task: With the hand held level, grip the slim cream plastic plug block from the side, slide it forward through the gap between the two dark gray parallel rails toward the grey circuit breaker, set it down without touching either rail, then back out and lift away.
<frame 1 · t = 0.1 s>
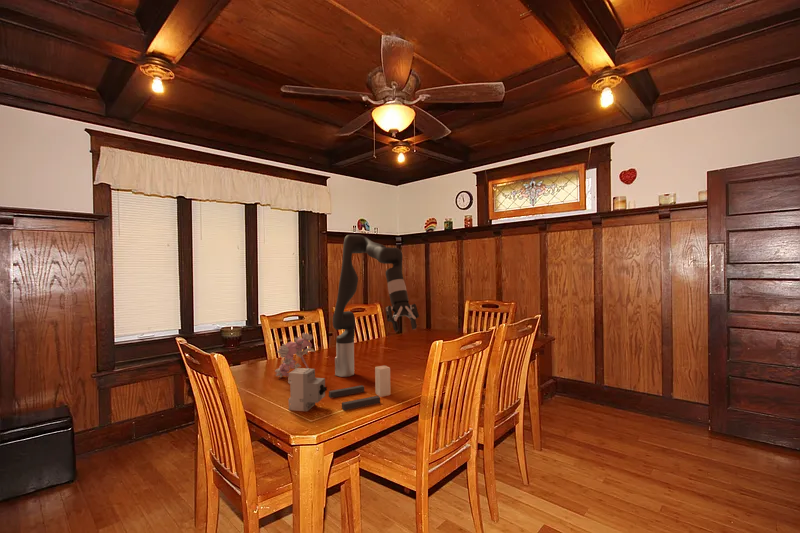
hand: (405, 330, 157), 31 cm above the table, tool tilted 20°, fingers open, 8 cm apart
dark gray parallel rails: (353, 399, 166), on the table
circuit breaker: (309, 408, 158), on the table
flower: (291, 378, 200), on the table
plug block: (382, 394, 173), on the table
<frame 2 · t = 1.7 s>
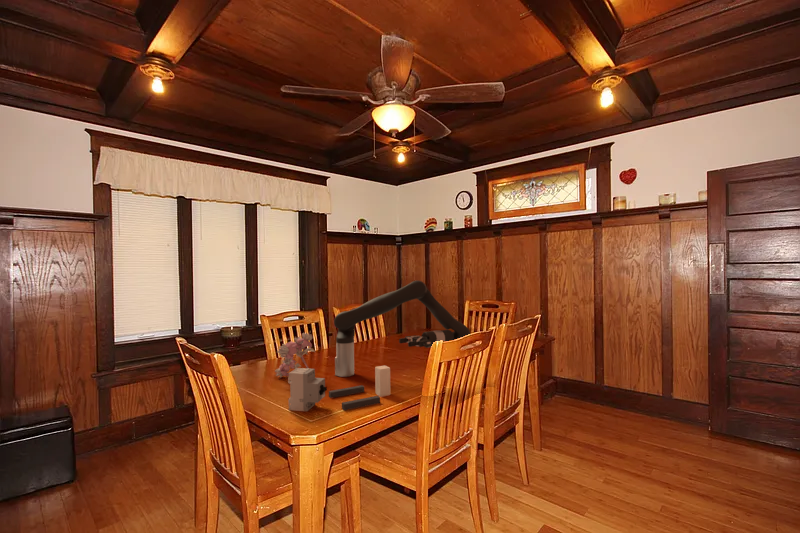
hand: (403, 342, 178), 22 cm above the table, tool horizontal, fingers open, 8 cm apart
nothing on the table moved.
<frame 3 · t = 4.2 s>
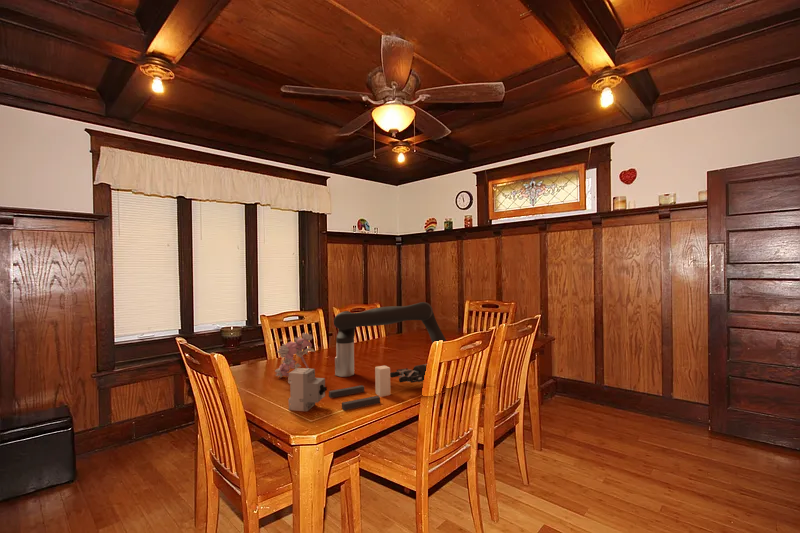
hand: (394, 377, 176), 6 cm above the table, tool horizontal, fingers open, 8 cm apart
nothing on the table moved.
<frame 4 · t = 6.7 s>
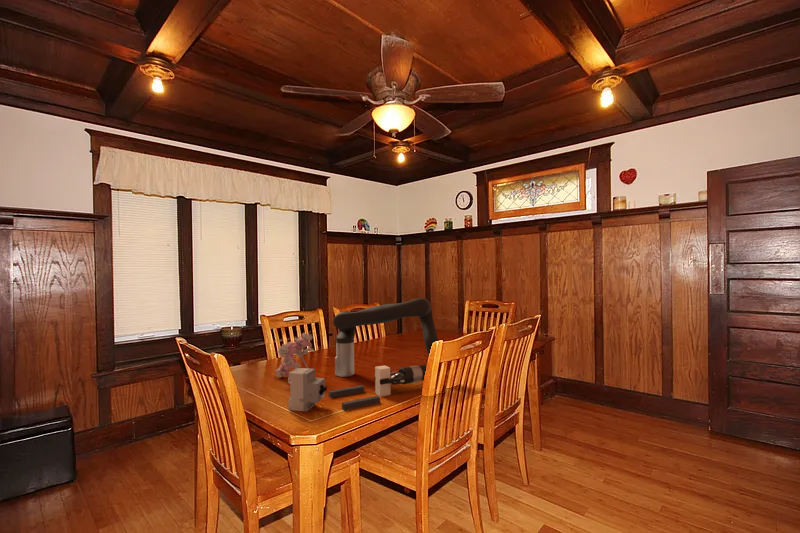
hand: (377, 380, 172), 7 cm above the table, tool horizontal, fingers closed on plug block, 5 cm apart
plug block: (382, 394, 173), on the table, touching gripper
everything else where it was.
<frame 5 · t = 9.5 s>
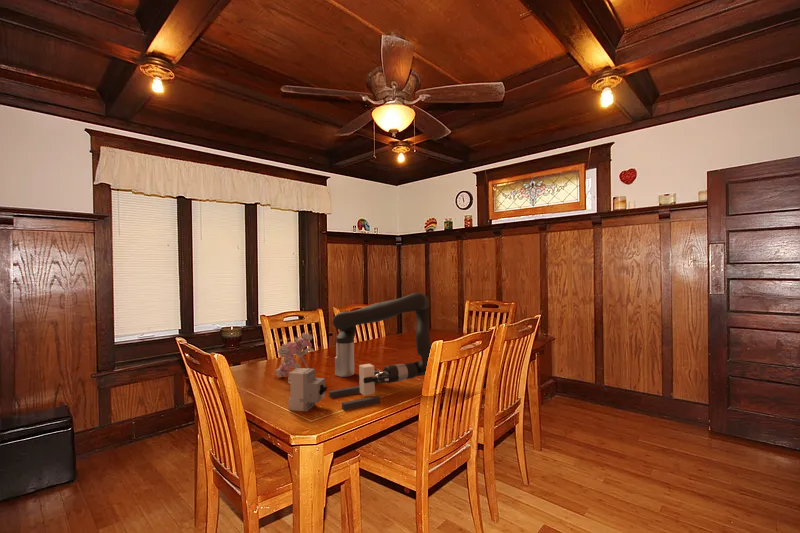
hand: (361, 379, 168), 8 cm above the table, tool horizontal, fingers closed on plug block, 5 cm apart
plug block: (367, 392, 169), point 2 cm above the table, touching gripper
everything else where it was.
when the fingers open (7 cm above the table, at t = 12.2 s): plug block stays where it is, on the table.
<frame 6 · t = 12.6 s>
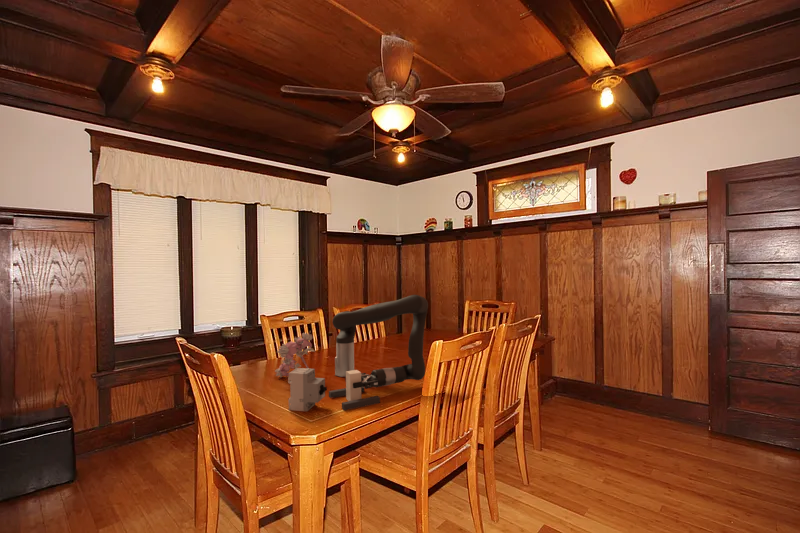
hand: (349, 383, 165), 8 cm above the table, tool horizontal, fingers open, 8 cm apart
plug block: (353, 399, 166), on the table
everything else where it was.
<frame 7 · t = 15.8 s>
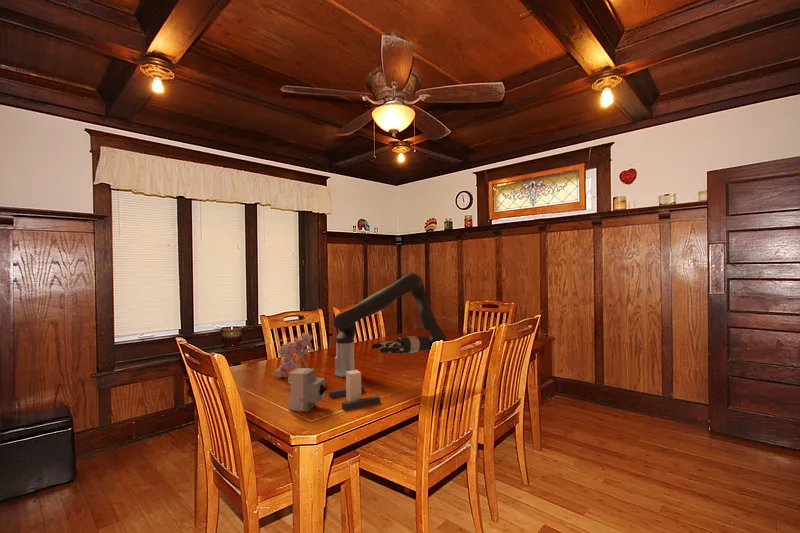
hand: (376, 348, 172), 21 cm above the table, tool horizontal, fingers open, 8 cm apart
nothing on the table moved.
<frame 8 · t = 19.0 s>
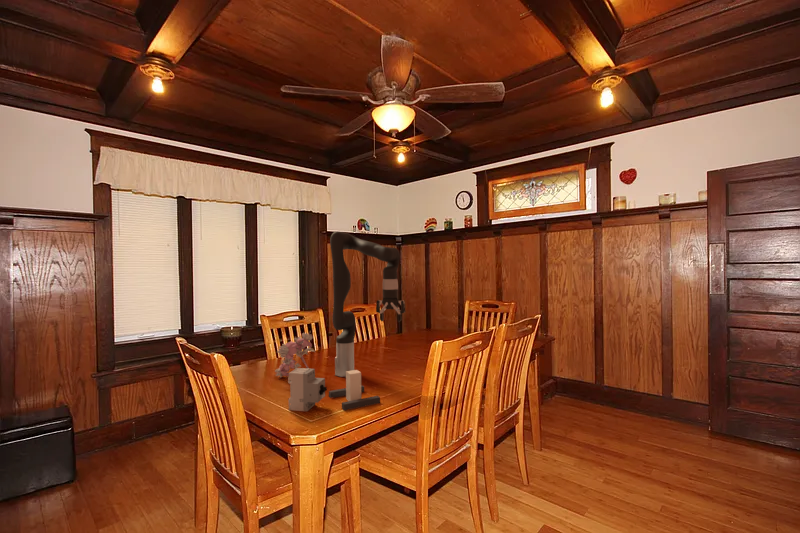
hand: (390, 321, 189), 30 cm above the table, tool pointing down, fingers open, 8 cm apart
nothing on the table moved.
at the end: plug block inside the target area (0.2 cm from its centre), on the table; plug block tilted 0°; plug block touching table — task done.
